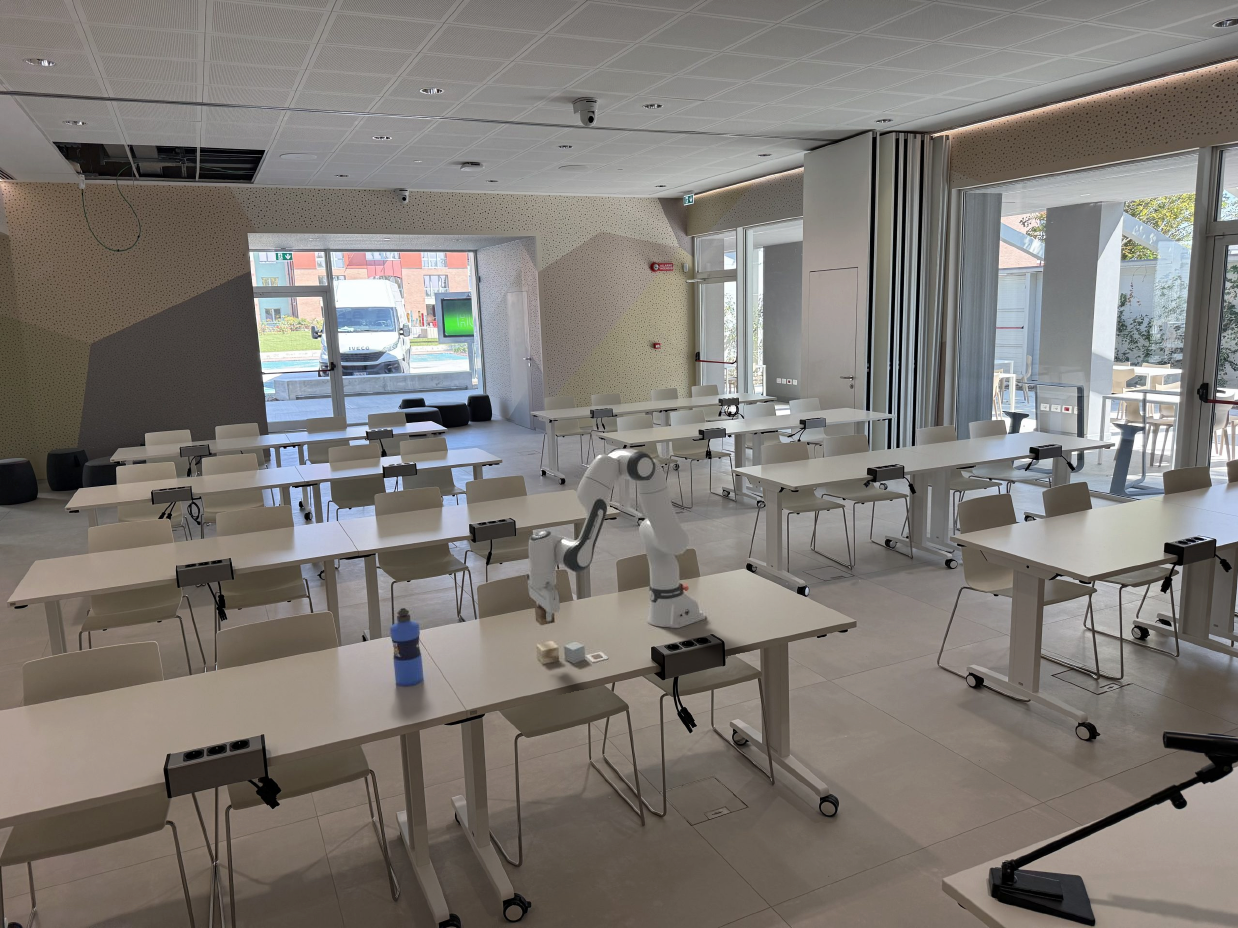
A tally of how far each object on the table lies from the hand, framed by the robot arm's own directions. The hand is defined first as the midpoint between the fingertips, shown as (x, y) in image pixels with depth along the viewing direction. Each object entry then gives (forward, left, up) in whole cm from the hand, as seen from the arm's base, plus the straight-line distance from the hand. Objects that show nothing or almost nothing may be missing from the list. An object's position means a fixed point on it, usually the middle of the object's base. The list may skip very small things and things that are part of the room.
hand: (545, 617), depth 291 cm
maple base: (0, 0, -16) cm, 16 cm away
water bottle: (+46, -9, -16) cm, 49 cm away
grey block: (-8, +5, -15) cm, 18 cm away
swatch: (-15, +8, -15) cm, 23 cm away
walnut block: (0, 0, -2) cm, 2 cm away
